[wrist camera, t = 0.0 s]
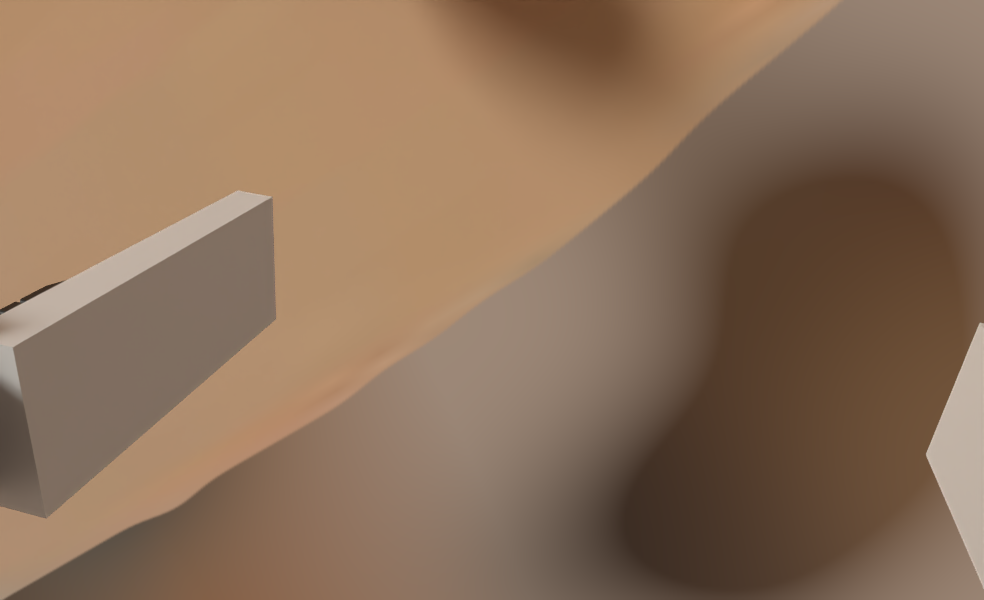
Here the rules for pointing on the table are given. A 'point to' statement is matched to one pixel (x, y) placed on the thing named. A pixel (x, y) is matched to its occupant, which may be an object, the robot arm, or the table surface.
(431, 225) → the table surface
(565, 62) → the table surface
